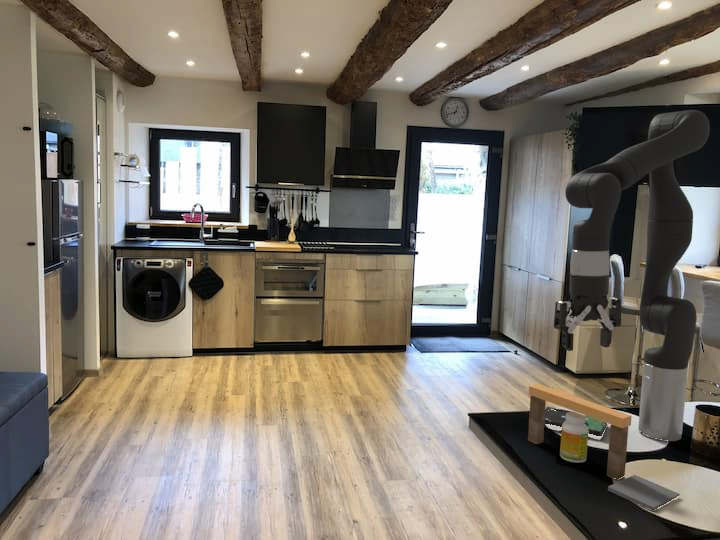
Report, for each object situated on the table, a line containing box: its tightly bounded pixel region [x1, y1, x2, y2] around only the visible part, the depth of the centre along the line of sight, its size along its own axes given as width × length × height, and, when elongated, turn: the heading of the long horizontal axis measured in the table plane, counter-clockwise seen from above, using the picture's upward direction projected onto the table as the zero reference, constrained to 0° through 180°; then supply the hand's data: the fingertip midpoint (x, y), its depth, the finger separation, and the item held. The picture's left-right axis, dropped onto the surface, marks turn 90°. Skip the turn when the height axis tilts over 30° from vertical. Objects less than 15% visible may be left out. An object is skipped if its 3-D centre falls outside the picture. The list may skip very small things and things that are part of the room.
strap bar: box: [528, 383, 633, 428], centre depth 124 cm, size 3×23×2 cm, turn 34°
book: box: [607, 474, 681, 512], centre depth 110 cm, size 9×9×1 cm
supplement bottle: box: [559, 411, 589, 464], centre depth 125 cm, size 5×5×10 cm
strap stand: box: [527, 395, 629, 479], centre depth 125 cm, size 2×22×11 cm, turn 34°
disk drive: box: [544, 406, 608, 436], centre depth 142 cm, size 10×3×15 cm
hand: (586, 348), depth 121 cm, fingers open, 8 cm apart
